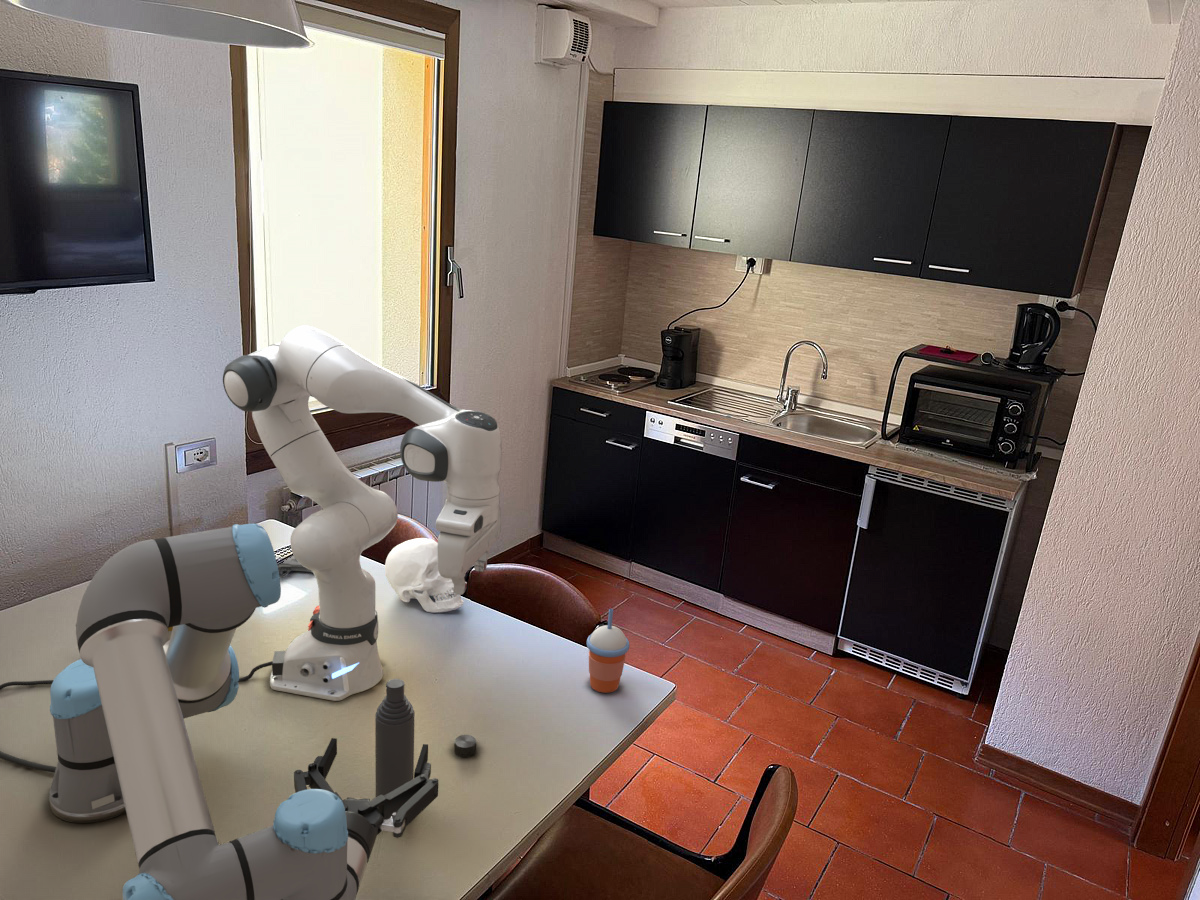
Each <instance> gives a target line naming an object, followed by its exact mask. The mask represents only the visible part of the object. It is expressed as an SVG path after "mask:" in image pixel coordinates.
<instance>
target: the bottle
mask: <svg viewBox="0 0 1200 900" xmlns="http://www.w3.org/2000/svg"><path fill="white" fill-rule="evenodd" d="M405 685H406V684H405V681H404V680H403V679H401V678H391V679H389V680H388V681H387V682H386V684H385V688H386V689H385V690H386V691H385V692H386V693H385V696H384V698H383V699H382V701H381V702H380V703H379V705H378V707H377V708H376V712H375V715H374V717H375V720H374V722H375V723H374V724H375V726H374V727H375V729H374V730H375V731H374V732H375V733H374V735H375V742H374V743H375V744H374V745H375V747H374V748H375V749H374V750H375V752H374V753H375V755H374V756H375V761H374V763H375V766H374V767H375V768H374V769H375V770H374V771H375V773H374V777H375V778H374V779H375V782H374V784H375V788H374V790H375V793H374V794H375V797H374V798H376V797H378V796H379V795H383V796H385V795H386V794H388V793H390V792H392V791H393V790H395V789H397V788H398V787H400V786H402V785H404V784H405V783H407V782H409V781H411V780H412V779H414V772H415V713H416V712H415V710H414V706H413V704H412V703H411V702H410V701H409V698H407V696H406V694H405ZM377 808H378V807H377ZM398 810H399V809H398ZM398 810H396V811H395V812H396V813H397V811H398ZM393 813H394V812H393ZM393 813H391V814H390V815H389V816H388V818H387V819H389V818H390V817H391V816H392V814H393Z"/></svg>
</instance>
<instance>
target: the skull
mask: <svg viewBox="0 0 1200 900" xmlns="http://www.w3.org/2000/svg"><path fill="white" fill-rule="evenodd" d="M384 573H385V577H386V580H387V582H388V584H389V585H390V588H392V590H393V591H394V592H395V593H396V594H397V596H398V598H399V599H400V600H401V601H402V602H404V603H410V601H411V599H416V600H417V601H418V603H419V604H420V605H421V607H422V609H423V610H424V612H425V611H426V612H427V613H433V614H435V613H436V614H437V613H447V612H451V611H454V610H455V611H456V610H458V609H460V608H463V606H464V602H465V601H464V600H463V599H462V596H461V595H460V594H455V593H454V584H453V582H452V579H450V578H445V577H442V576H441V575H440V573H439V571H438V541H436V540H434V539H431V538H425V537H419V538H417V537H416V538H413V539H408V540H405V541H403V542H401V543H399V544H397V545H396V546H393V548H392V549H391V551H389V553H388V554H387V557H386V559H385V563H384ZM430 596H431V597H433V599H434V600H432V599H431V597H430Z"/></svg>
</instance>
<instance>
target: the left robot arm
mask: <svg viewBox="0 0 1200 900" xmlns="http://www.w3.org/2000/svg"><path fill="white" fill-rule="evenodd" d="M276 559H277V558H276V553H275V550H274V547H273V543H272V541H271V539H270V536H269V534H268V531H266V529H265V527H263V526H262V525H260V524H259V523H245V524H238V523H235V524H232V526H228V527H227V526H226V527H221V528H215V529H208V530H203V531H196V532H190V533H184V534H178V535H172V536H166V537H160V538H154V539H152V538H151V539H146V540H140V541H138V542H135V543H132V544H130V545H128V546H126V547H124V548H122V549H121V550H119V551H117V552H116V553H114V554H113V555H111V556H110V557H109V559H107V560H106V561H105V562H104V563H103V565H102V566H101V567H100V568H99V569H98V570H97V571H96V573H95V574H94V575H93V577H92V579H90V582H89V583H88V586H86V589H85V591H84V593H83V596H82V597H81V601H80V604H79V607H78V611H77V617H76V623H75V637H76V643H77V649H78V652H79V657H80V658H79V659H77V660H76V661H74V662H72V663H70V664H69V665H67V666H66V667H64V668H63V670H62V671H60V672H59V673H58V674H57V675H56V676H55V677H54V679H53V680H54V681H53V683H52V684H50V689H49V690H50V691H49V692H50V693H49V695H50V705H49V712H50V715H51V716H52V720H53V728H54V736H55V737H54V738H55V745H56V746H55V747H56V755H57V764H56V766H54V765H48V764H42V763H37V762H34V761H29V760H26V759H23V758H20V757H17V756H13V755H11V754H8V753H6V752H4V751H1V750H0V759H2V760H4V761H7V762H10V763H13V764H15V765H19V766H22V767H26V768H28V769H29V768H30V769H34V770H38V771H42V772H47V773H52V774H53V778H52V780H51V785H50V789H49V792H48V800H49V806H50V810H51V812H52V814H53V815H55V816H56V817H57V818H58V819H61V820H62V821H65V822H69V823H76V824H88V823H97V822H101V821H106V820H109V819H113V818H115V817H119V816H121V815H124V814H125V813H126V817H127V822H128V826H129V830H130V835H131V839H132V843H133V848H134V852H135V857H136V861H137V865H138V870H139V873H138V874H137V875H135V877H132V878H130V879H128V880H127V881H126V882H125V883H124V884H123V887H122V900H356V899H357V895H358V892H359V889H360V886H361V883H362V880H363V877H364V875H365V871H366V869H367V866H368V863H369V862H370V861H369V860H370V859H371V854H372V852H373V848H374V846H375V843H376V840H377V837H378V836H379V834H381V833H382V832H383V831H384V832H391V833H392V837H394V838H395V839H399V838H401V837H402V836H403V835H404V833H405V830H406V828H407V827H408V826H409V825H410V824H411V823H412V822H413V821H414V820H415V819H416V818H417V817H418V816H419V815H420V814H421V813H422V812H423V811H424V810H425V809H426V808H427V807H429V806H430V804H431V803H432V802H434V800H436V799H437V798H438V796H439V783H440V782H439V781H440V780H439V779H438V778H436V777H433V778H430V777H431V773H432V764H431V763H430V762H429V744H428V743H423V744H422V747H421V750H420V753H419V756H418V759H417V763H416V764H415V765H416V766H415V767H414V779H412V780H411V781H409V782H407V783H405V784H404V785H402V786H400V787H398V788H397V789H395V790H393V791H392V792H390V793H388V794H386V795H385V796H383V795H379V796H378V797H376V798H375V797H374V798H372V799H371V798H366V797H365V798H355V797H349V796H348V797H347V796H346V798H345V799H344V798H342V797H341V796H340V794H339V793H338V792H337V791H334V789H333V788H332V786H331V785H330V784H329V783H328V781H327V780H326V779H327V777H328V774H329V773H330V770H331V768H332V766H333V763H334V762H335V759H336V757H337V755H338V738H335V737H331V739H330V741H329V743H328V745H327V747H326V749H325V751H324V753H323V755H317V756H316V757H315V759H314V761H313V762H311V763H309V764H308V765H307V771H303V769H297V770H295V771H294V772H293V789H294V793H292V794H291V795H290V796H288V797H287V799H286V800H283V801H282V802H280V804H279V806H278V807H277V808H276V811H275V814H274V819H273V824H272V825H270V826H267V827H264V828H261V829H259V830H257V831H254V832H251V833H249V834H246V835H243V836H241V837H238V838H235V839H233V840H230V841H228V842H225V843H221V844H219V842H218V839H217V836H216V830H215V826H214V823H213V819H212V815H211V813H210V808H209V805H208V801H207V799H206V794H205V791H204V787H203V784H202V780H201V776H200V773H199V770H198V767H197V763H196V759H195V755H194V752H193V747H192V745H191V741H190V738H189V733H188V731H187V728H186V724H185V723H186V722H185V721H184V720H185V719H188V718H192V717H195V716H198V715H202V714H205V713H212V712H215V711H218V710H220V709H222V708H224V707H227V706H229V705H231V704H232V703H233V702H234V701H235V699H236V697H237V695H238V692H239V687H240V686H239V682H238V681H239V679H240V667H239V663H238V659H237V656H236V653H235V650H234V648H233V646H232V645H231V643H232V641H233V638H234V637H235V633H236V630H237V629H238V628H239V627H241V626H243V625H244V624H245V623H246V622H247V621H248V620H250V618H251V617H252V615H254V613H255V612H256V609H257V608H260V607H262V608H268V607H269V606H271V605H275V604H276V603H278V602H279V601H280V599H281V595H282V586H281V578H280V576H279V575H280V573H279V571H278V566H277V561H276ZM169 627H173V629H172V633H171V637H170V640H169V641H167V640H168V637H169V631H168V628H169ZM307 786H308V787H309V788H308V787H307ZM377 807H378V808H377ZM398 809H399V810H398ZM396 810H398V811H397V813H396V812H395V811H396ZM393 812H394V813H393ZM391 813H393V814H392V816H391V817H390V818H389V819H387V818H388V816H389V815H390V814H391Z"/></svg>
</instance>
